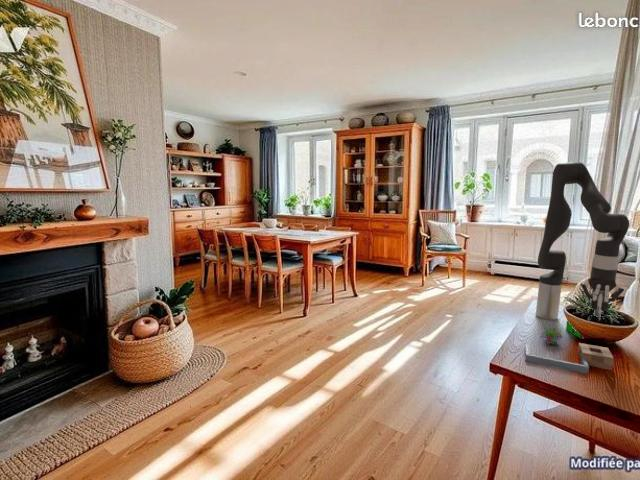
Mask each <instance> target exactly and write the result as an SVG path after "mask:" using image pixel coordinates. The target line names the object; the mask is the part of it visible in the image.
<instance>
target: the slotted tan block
mask: <svg viewBox="0 0 640 480" xmlns="http://www.w3.org/2000/svg"><path fill="white" fill-rule="evenodd" d="M577 347H578V348H577V352H576V353H577V356H578V359H579V360H580V354H581V359H582V358H585V359H586V361H587V364H588V366H589V367H594V368H599V369H602V370H609V371H612V370H613V367H614V361H615V360H614V359H615V358H614V355H612V353H611V351H610V350H609V347H605V346H604V347H603V346H599V345H593V344H587V343H582V342H578V346H577ZM581 362H582V361H581ZM581 362H580V363H581Z"/></svg>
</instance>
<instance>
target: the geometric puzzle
mask: <svg viewBox="0 0 640 480" xmlns="http://www.w3.org/2000/svg"><path fill="white" fill-rule="evenodd" d="M552 329H553V330H552ZM552 329H548V328H545V329H544V332H542V334H541V335H540V338H541V339H542V340H543V341H546V342H545V343H546V345H547V347H549V346H551V347H552V346H558V344H559V343H560V342H561V341H562V339H563V335H562V333H561V332H560V331H559V330H558V329H557V328H555V327H554V328H552Z"/></svg>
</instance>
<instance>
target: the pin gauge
mask: <svg viewBox="0 0 640 480" xmlns="http://www.w3.org/2000/svg"><path fill="white" fill-rule="evenodd" d="M604 293H605V291H600V290H599V293H598V296H597V299H596V301H597V304H596V310H594V316H596V317H601V314H602V312H603V311H602V306H603V300H604Z"/></svg>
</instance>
